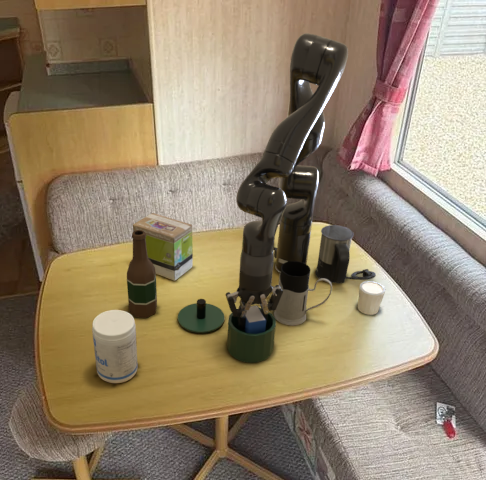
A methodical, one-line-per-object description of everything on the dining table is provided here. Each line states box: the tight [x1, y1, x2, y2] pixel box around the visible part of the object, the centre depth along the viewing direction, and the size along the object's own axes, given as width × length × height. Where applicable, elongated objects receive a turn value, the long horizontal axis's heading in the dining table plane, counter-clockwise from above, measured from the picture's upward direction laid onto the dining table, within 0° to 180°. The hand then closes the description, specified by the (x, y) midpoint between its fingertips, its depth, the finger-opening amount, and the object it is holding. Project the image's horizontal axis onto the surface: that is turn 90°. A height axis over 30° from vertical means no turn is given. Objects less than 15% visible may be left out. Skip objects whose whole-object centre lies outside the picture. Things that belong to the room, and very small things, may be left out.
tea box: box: [132, 212, 194, 281], centre depth 165 cm, size 15×10×15 cm
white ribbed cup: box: [357, 280, 386, 316], centre depth 151 cm, size 7×7×7 cm
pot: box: [226, 306, 277, 364], centre depth 136 cm, size 11×11×8 cm
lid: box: [177, 298, 226, 334], centre depth 146 cm, size 12×12×6 cm
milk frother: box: [314, 224, 377, 284], centre depth 162 cm, size 14×16×15 cm
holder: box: [273, 261, 333, 326], centre depth 145 cm, size 9×14×15 cm, turn 69°
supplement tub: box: [91, 309, 139, 384], centre depth 126 cm, size 10×10×15 cm
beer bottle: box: [126, 230, 158, 319], centre depth 144 cm, size 8×8×24 cm
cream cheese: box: [244, 304, 266, 334], centre depth 134 cm, size 6×4×4 cm
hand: (252, 325), depth 134 cm, fingers closed on cream cheese, 4 cm apart
